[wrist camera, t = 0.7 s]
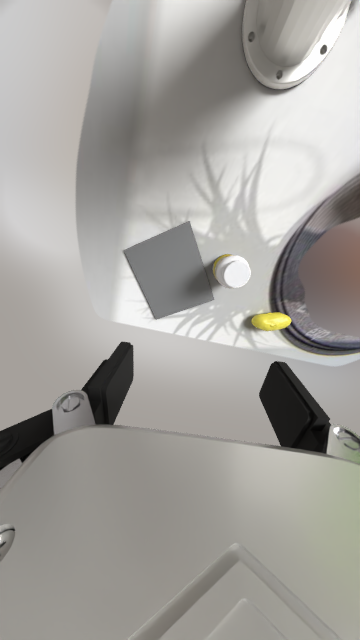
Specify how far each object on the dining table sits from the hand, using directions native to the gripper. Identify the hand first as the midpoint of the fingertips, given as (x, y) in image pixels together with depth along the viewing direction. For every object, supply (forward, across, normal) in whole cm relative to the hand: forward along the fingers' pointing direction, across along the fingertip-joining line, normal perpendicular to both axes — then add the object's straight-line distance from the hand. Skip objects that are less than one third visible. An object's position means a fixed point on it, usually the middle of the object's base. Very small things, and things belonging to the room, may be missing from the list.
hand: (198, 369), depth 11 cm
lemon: (+28, -18, +6) cm, 33 cm away
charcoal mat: (+27, +5, -1) cm, 28 cm away
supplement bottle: (+28, -6, -4) cm, 28 cm away
